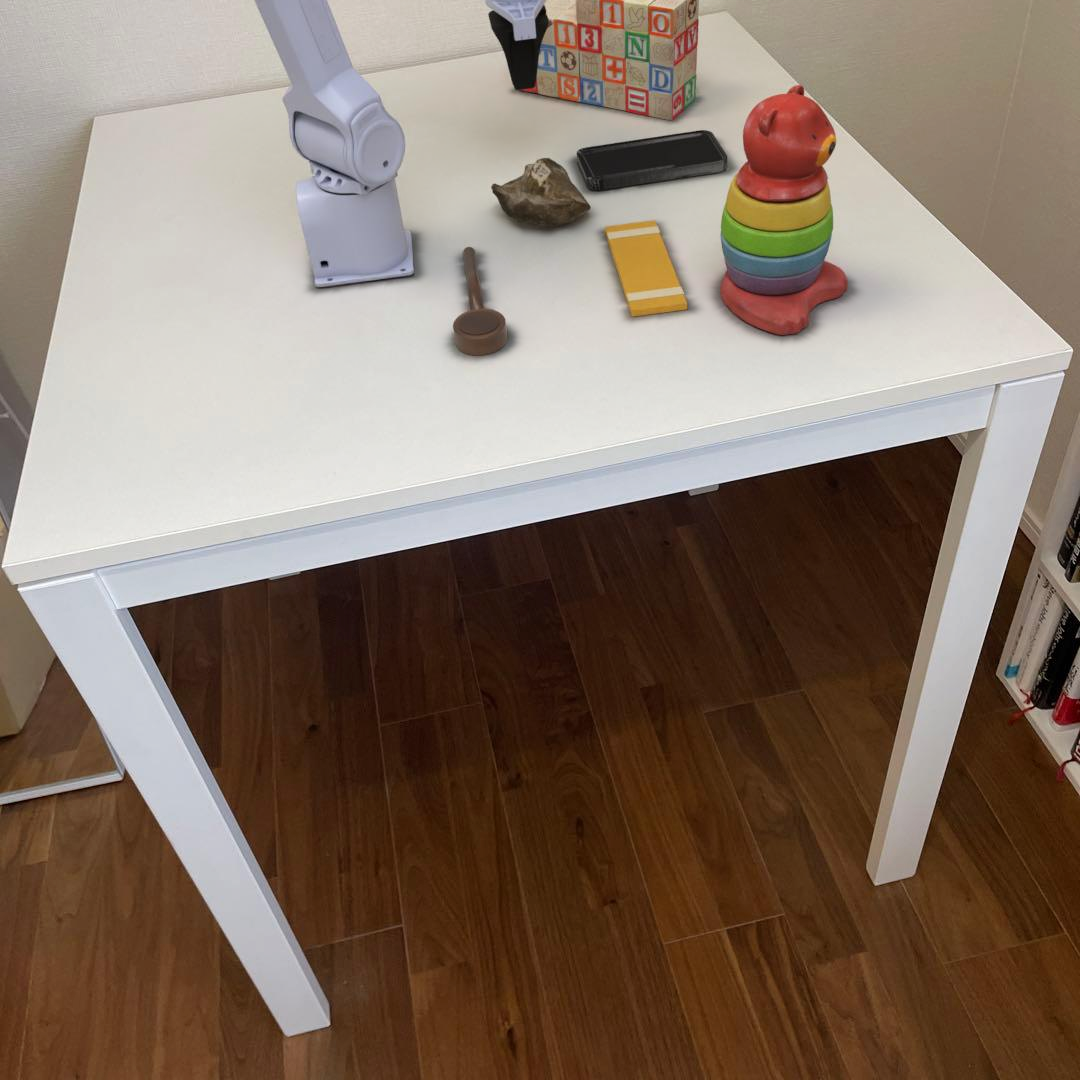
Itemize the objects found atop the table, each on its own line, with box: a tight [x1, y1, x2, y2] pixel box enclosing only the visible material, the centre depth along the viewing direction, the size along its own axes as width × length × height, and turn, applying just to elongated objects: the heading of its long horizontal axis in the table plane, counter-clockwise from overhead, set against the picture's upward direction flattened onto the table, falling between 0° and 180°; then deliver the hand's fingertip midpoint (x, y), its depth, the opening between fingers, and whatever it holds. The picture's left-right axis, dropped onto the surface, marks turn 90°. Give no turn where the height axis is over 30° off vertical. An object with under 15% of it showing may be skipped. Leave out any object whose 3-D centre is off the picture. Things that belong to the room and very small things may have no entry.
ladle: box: [452, 246, 508, 357], centre depth 101 cm, size 17×5×2 cm, turn 7°
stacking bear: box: [719, 84, 849, 336], centre depth 92 cm, size 11×10×18 cm
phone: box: [576, 129, 728, 191], centre depth 117 cm, size 8×1×15 cm
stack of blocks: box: [520, 0, 700, 121], centre depth 126 cm, size 21×6×12 cm, turn 58°
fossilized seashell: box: [490, 157, 592, 228], centre depth 110 cm, size 8×7×10 cm
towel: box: [604, 219, 688, 318], centre depth 103 cm, size 5×15×1 cm, turn 7°
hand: (524, 86), depth 112 cm, fingers closed
